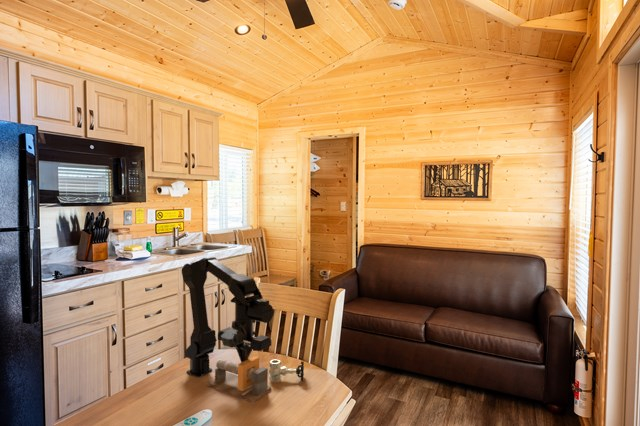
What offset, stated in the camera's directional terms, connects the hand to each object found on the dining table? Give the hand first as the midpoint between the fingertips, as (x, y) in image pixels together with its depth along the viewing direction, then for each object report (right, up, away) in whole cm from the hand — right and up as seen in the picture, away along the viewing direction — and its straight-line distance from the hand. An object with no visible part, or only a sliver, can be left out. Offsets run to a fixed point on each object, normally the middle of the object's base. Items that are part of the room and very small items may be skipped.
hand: (243, 364), depth 124 cm
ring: (+2, -6, -1) cm, 7 cm away
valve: (+13, -9, +7) cm, 17 cm away
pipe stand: (-2, -8, +1) cm, 9 cm away
